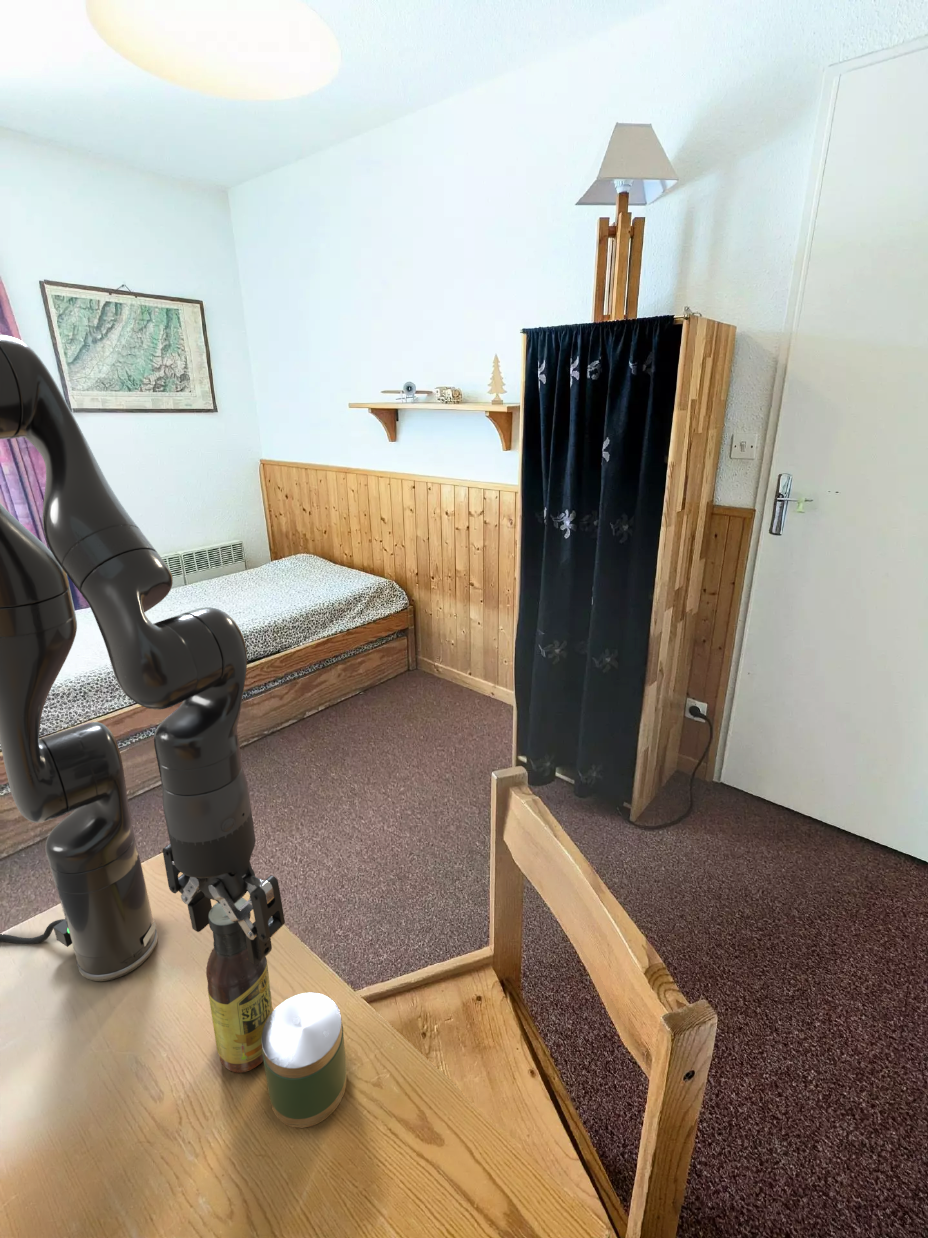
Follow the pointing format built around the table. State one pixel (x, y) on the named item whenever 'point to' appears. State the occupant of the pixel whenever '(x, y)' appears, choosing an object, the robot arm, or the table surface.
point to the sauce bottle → (236, 994)
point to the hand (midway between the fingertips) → (231, 940)
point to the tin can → (304, 1059)
